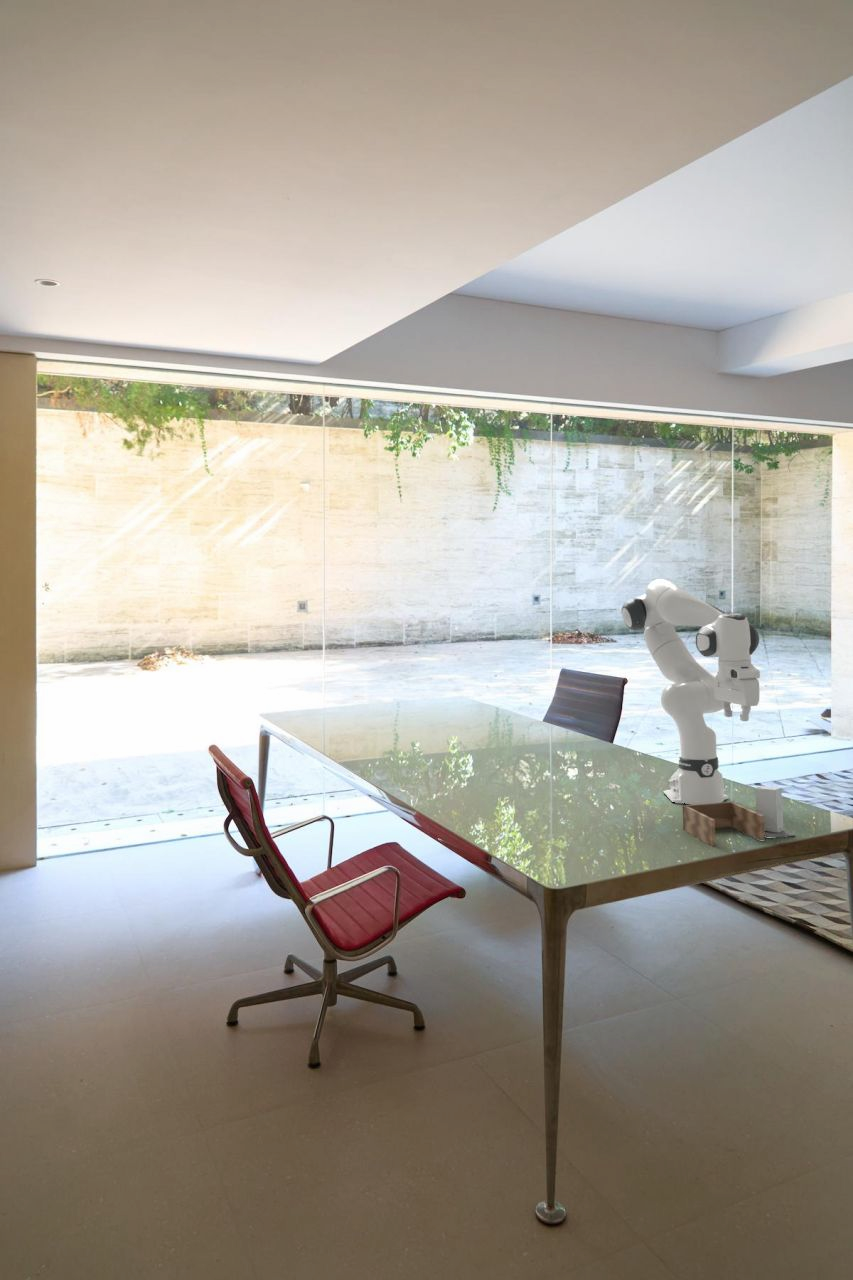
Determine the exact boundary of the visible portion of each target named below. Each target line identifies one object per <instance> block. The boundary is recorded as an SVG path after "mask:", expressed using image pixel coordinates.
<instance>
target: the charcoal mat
mask: <svg viewBox="0 0 853 1280" xmlns="http://www.w3.org/2000/svg"><path fill="white" fill-rule="evenodd" d="M764 835H765V836H766V837H785V836H794V835H795V836H796V834H794V833H792V832H790V831H788V830H786V829H783V831H781V832H779V833H776V832H768V831H764ZM785 838H786V837H785Z"/></svg>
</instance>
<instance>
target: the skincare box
mask: <svg viewBox="0 0 853 1280" xmlns="http://www.w3.org/2000/svg"><path fill="white" fill-rule="evenodd" d="M754 792H755V793H754V794H755V812H757V813H759V814H761V815H764V831H768V832H776V833H779V832H781V831H783V829H784V815H783V814H784V813H783V795H782V794H783V793H782V792H783V791H782V787H779V786H770V785H759V786H757V787H755V788H754ZM784 830H785V829H784Z"/></svg>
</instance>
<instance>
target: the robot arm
mask: <svg viewBox="0 0 853 1280" xmlns="http://www.w3.org/2000/svg"><path fill="white" fill-rule="evenodd" d="M621 607H622V608H621V615H622V616H621V618H622V620H623V622H624V625H626V627H627V628H628V629H630V630H632V631H638V630H643V629H644V632H643V638H644V641H645V644H646V646H647V648H648V651H649V653H650V655H651V656H652V658H653V660H654V662H655V664H656V666H657V667H658V669H659V670H660V672H661V674H662V675H663V676H664V678H666V679H667V680H669V681H671V682H673V684H669V685H668V686H666V687H665V688H664V689H663V690H662V692H661V695H660V702H661V707H662V708H663V710H664V711H665V712H666V713H667V714H668V715H670V717H671V718H672V719H673V720H674V722H675V724H676V727H677V729H678V734H679V744H680V746H679V747H680V756H679V757H678V758H679V759H678V769H677V770H676V771H675V772H674V773H673V774H672V775H671V776H670V779H668V781H667V784H668V787H670V788H669V789H666V790H663V792H664V793H665V794H666V795H667V797H668V798H669V799H670V800H671V801H672V802H675V803H674V804H684V803H685V804H684V805H695V804H708V803H720V802H725V800H728V799H729V797H728V795H727V794H725V790H724V789H725V787H724V781H723V780H724V779H723V774H722V773H721V772H720V771H719V764H720V763H719V758H718V755H717V735H716V732H715V731H714V730H713V729H712V727H709V726H707V723H706V722H705V719H704V714H712V713H717V712H719V711H722V710H723V713H724V717H726V718H732V717H733V715H734V714H733V710H732V708H731V704H735V705H739V706H741V707H740V708H741V713H740V714H739V717H740V718H739V720H740V721H742V722H748V721H749V718H750V716H749V714H750V712H751V710H752V709H751V707H755V706H758V705H759V704H760V703H759V702H760V683H759V679H760V677H761V671H760V670H759V669H757V667H756V666H755V665H754V664H752V658H751V655H752V654H754V653H755V651H756V649H757V648H758V647H759V644H760V635H759V632H758V630H757V629H756V628H755V626H754V625H753V624H752V623H750V622H749V620H748V617H747V616H746V615H744V614H742V613H739V612H725V611H723V610H722V609H720V608H718V607H716V606H714V605H712V604H711V603H708V602H705V601H704V600H702V599H699V598H698V597H695V595H692V594H691V593H689V592H687V591H686V590H684V588H682V587H681V586H679V585H678V584H676V583H674V582H672V581H670V580H668V579H665V578H657V579H655V580H652V581H651V582H650V583H649V584H648V585H647V587H646V590H645V593H644V594H641V595H639V596H637V597H634V598H631V599H628V601H626V602H624V603H623V605H622V606H621ZM675 626H676V627H679V626H680V627H682V626H683V627H700V628H699V629H698V631H697V633H696V636H695V646H696V649H697V651H698V652H699V653H700V655H702V656H704V658H718V666H717V667H718V671H717V674H716V675H715V676H714V675H713V674H712V673H711V672H709V671H708V670H706V669H705V668H704V666H702V665H700V663H699V662H698V661H696V659H695V657H693V655H692V654H691V652H690V650H689V649H688V648H687V646H686V645H685V643H684V641H683V640H682V638H681V637H680V635H679V634H678V633H677V631H676V629H675ZM667 797H666V798H667ZM668 798H667V799H668ZM669 799H668V800H669ZM670 800H669V801H670ZM671 801H670V802H671ZM672 802H671V803H672Z"/></svg>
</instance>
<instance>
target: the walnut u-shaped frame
mask: <svg viewBox="0 0 853 1280" xmlns="http://www.w3.org/2000/svg"><path fill="white" fill-rule="evenodd" d="M682 821H683V823H682V824H683V825H682V827H683V831H685V832H686V833H688V834H690V835H692V836H694V838H695V837H696V838H697V839H699V840H700V841H702V842H704V843H706V844H707V845H710V846H712V847H716V841H717V840H716V829H720V828H729V827H730V828H733V829H735V830H737V831H739V832H741V833H743V832H744V833H743V834H745V833H746V834H745V835H747V834H748V835H747V836H749V835H751V836H753V837H755V838H757V839H759V840H766V838H765V835H764V815H761V814H759V813H757V812H756V810H755V811H754V810H752V809H750V808H748V807H745V806H743V805H741V804H738V803H736V802H734V801H723V802H720V803H708V804H695V805H692V804H684V805H682ZM751 836H750V837H751ZM753 837H752V838H753ZM755 838H754V839H755ZM757 839H756V840H757ZM759 840H758V841H759Z"/></svg>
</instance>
